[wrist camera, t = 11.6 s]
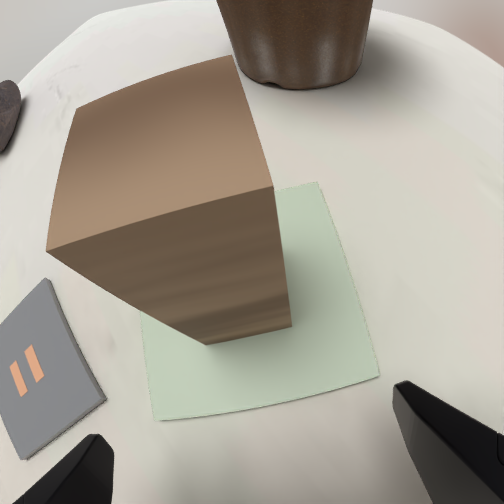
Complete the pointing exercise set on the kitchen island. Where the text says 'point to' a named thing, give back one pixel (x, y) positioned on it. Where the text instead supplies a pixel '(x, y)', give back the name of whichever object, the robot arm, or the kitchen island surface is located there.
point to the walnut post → (175, 205)
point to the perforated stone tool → (8, 110)
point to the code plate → (42, 373)
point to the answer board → (272, 343)
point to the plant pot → (297, 39)
